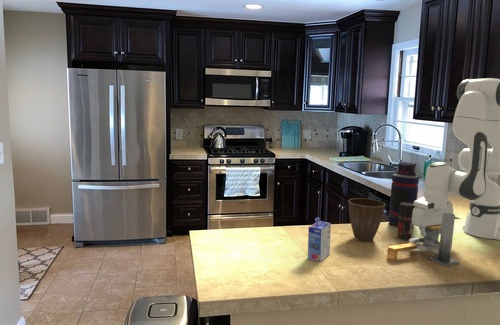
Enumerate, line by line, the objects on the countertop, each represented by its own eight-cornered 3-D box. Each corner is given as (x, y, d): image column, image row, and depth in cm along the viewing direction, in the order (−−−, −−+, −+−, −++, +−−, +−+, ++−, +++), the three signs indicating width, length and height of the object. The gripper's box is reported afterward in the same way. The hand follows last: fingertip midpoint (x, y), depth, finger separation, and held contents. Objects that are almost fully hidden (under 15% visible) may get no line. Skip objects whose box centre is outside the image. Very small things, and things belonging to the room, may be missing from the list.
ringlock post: (423, 246, 167) (427, 203, 165) (463, 263, 151) (468, 215, 148) (379, 253, 157) (382, 208, 155) (416, 272, 141) (421, 221, 139)
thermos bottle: (406, 229, 190) (411, 165, 185) (383, 223, 199) (388, 162, 194) (421, 225, 198) (427, 163, 194) (398, 219, 208) (404, 160, 203)
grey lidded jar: (429, 242, 173) (431, 222, 171) (439, 246, 168) (441, 225, 167) (421, 244, 170) (423, 223, 169) (430, 248, 166) (432, 226, 165)
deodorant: (399, 234, 182) (402, 201, 180) (413, 237, 178) (416, 204, 176) (395, 237, 178) (398, 204, 175) (409, 241, 174) (412, 206, 172)
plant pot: (351, 231, 185) (354, 196, 183) (385, 237, 177) (388, 201, 175) (341, 240, 172) (343, 202, 170) (377, 247, 165) (380, 208, 162)
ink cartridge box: (316, 250, 159) (318, 214, 157) (330, 253, 156) (332, 216, 154) (306, 258, 150) (308, 220, 148) (320, 262, 147) (323, 223, 145)
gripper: (446, 198, 174) (442, 230, 176) (410, 201, 165) (407, 235, 167) (459, 202, 168) (455, 234, 170) (423, 205, 159) (419, 240, 161)
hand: (431, 235), depth 168 cm, fingers open, 8 cm apart
